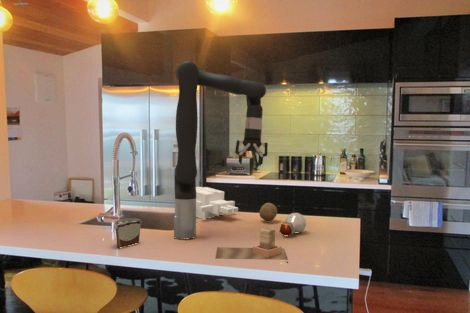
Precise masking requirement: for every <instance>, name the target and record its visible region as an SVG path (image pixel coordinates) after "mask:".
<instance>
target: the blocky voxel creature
mask: <svg viewBox="0 0 470 313" xmlns="http://www.w3.org/2000/svg"><path fill="white" fill-rule="evenodd" d="M235 204H236V201H235V200H225V191H223V190H219V189H215V188H212V187H209V186H204V187H203V186H196V218H197V219H198V218H199V219H201V218H209V217H213V216H218V215H222V214H223V215H224V214H226V215H231V214H235V213H238V212H239V207H237V206H235ZM218 217H219V216H218ZM209 219H210V218H209Z"/></svg>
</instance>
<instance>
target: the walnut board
mask: <svg viewBox="0 0 470 313" xmlns="http://www.w3.org/2000/svg"><path fill="white" fill-rule="evenodd" d="M215 259H220V260H221V259H222V260H229V259H230V260H231V259H232V260H276V261H277V260H279V261H280V260H285V261H288V260H289V258H288V255H287V253H286V249H285V248H283V247H282V254H279V255H276V256H273V257H269V258H267V257H264V256H260V255H257V254H254V253H253V247H231V246H229V247H226V246H225V247H223V246H222V247H220V246H219V247H218V246H217V248H216V251H215Z"/></svg>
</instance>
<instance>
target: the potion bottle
mask: <svg viewBox="0 0 470 313" xmlns="http://www.w3.org/2000/svg"><path fill="white" fill-rule="evenodd" d="M306 226H307V220H306V218H305V217H304V215H303V214H301V213H299V212H292V213H290V214H289V215H287V217H286V218H285V221H283V222H282V223H281V224H280V227H279V231H278V232H279V233H280V234H281V235H282V236H284V235H288V237H290V236H292V235H294V234H293V233H295V232H300V233H302V232H303V231H305V229H306ZM289 235H290V236H289Z"/></svg>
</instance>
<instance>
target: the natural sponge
mask: <svg viewBox="0 0 470 313" xmlns="http://www.w3.org/2000/svg"><path fill="white" fill-rule="evenodd" d="M277 214H278V208H277V206H276V205H275V204H273V203H271V202H266V203H264V204H263V205H262V206H261V207H260V209H259V217H260V218H261V219H263V221H264V222H266V221H271V222H272V221H273V220H274V219H275V218H276V217H277Z"/></svg>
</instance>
